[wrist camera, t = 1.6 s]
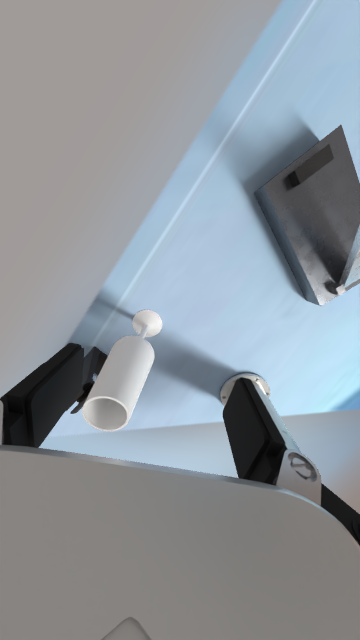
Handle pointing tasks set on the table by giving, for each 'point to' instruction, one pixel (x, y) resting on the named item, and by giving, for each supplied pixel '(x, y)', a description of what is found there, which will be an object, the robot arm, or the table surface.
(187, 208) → the table surface
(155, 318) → the champagne flute
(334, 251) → the block
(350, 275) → the strap
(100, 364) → the phone stand
